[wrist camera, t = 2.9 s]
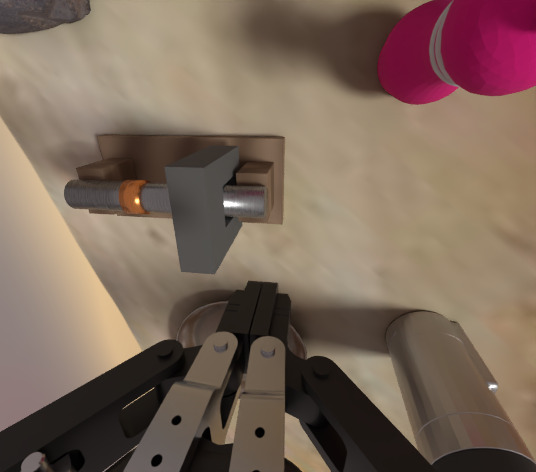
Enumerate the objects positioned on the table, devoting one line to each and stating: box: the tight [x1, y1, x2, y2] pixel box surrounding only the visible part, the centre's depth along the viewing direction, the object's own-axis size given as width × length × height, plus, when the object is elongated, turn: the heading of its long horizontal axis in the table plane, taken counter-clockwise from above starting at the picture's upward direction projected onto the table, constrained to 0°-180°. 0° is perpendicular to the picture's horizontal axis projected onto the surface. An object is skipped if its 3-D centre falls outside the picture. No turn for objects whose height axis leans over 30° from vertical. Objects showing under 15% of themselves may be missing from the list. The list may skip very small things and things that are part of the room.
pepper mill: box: [377, 0, 536, 105], centre depth 18 cm, size 7×7×20 cm
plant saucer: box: [176, 300, 307, 399], centre depth 45 cm, size 21×21×3 cm
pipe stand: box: [76, 135, 285, 224], centre depth 32 cm, size 22×10×7 cm, turn 90°
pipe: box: [64, 180, 268, 218], centre depth 28 cm, size 20×3×3 cm, turn 90°
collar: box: [164, 145, 242, 274], centre depth 27 cm, size 3×9×10 cm, turn 0°
